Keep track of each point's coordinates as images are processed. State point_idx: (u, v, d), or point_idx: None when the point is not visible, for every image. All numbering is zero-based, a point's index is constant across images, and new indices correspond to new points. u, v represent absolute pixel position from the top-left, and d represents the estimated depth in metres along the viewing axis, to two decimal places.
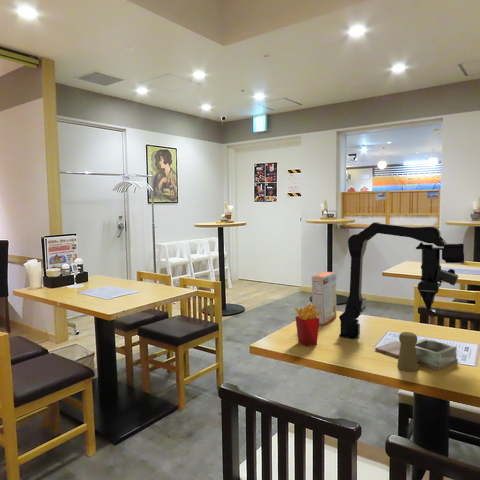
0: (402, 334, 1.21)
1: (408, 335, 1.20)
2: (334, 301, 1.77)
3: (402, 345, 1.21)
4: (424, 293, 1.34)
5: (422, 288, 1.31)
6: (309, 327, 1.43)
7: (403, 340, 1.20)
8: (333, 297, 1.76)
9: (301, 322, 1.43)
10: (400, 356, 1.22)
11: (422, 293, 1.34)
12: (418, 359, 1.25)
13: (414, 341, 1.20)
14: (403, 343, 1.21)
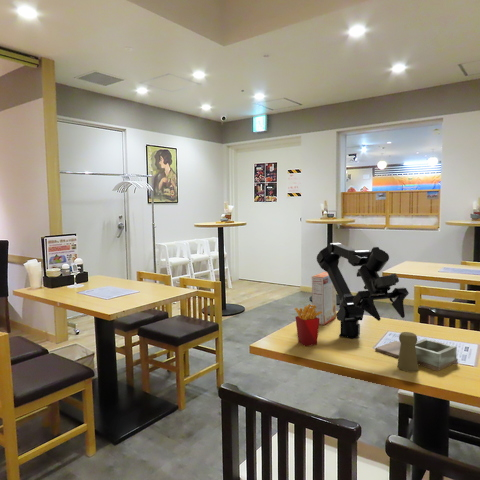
0: (402, 334, 1.21)
1: (408, 335, 1.20)
2: (334, 301, 1.77)
3: (402, 345, 1.21)
4: (366, 307, 1.32)
5: (355, 302, 1.33)
6: (309, 327, 1.43)
7: (403, 340, 1.20)
8: (333, 297, 1.76)
9: (301, 322, 1.43)
10: (400, 356, 1.22)
11: (364, 308, 1.32)
12: (418, 359, 1.25)
13: (414, 341, 1.20)
14: (403, 343, 1.21)
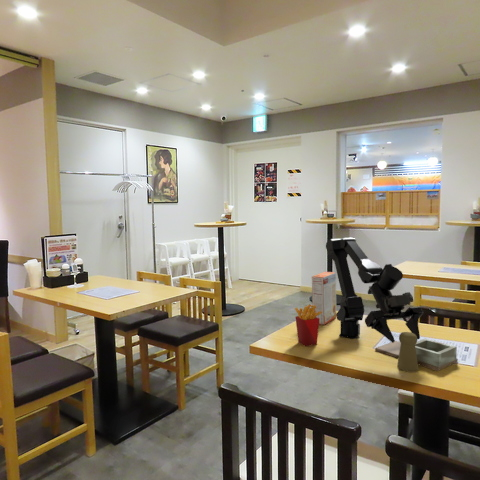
0: (402, 334, 1.21)
1: (408, 335, 1.20)
2: (334, 301, 1.77)
3: (402, 345, 1.21)
4: (379, 328, 1.25)
5: (367, 323, 1.26)
6: (309, 327, 1.43)
7: (403, 340, 1.20)
8: (333, 297, 1.76)
9: (301, 322, 1.43)
10: (400, 356, 1.22)
11: (377, 329, 1.26)
12: (418, 359, 1.25)
13: (414, 341, 1.20)
14: (403, 343, 1.21)
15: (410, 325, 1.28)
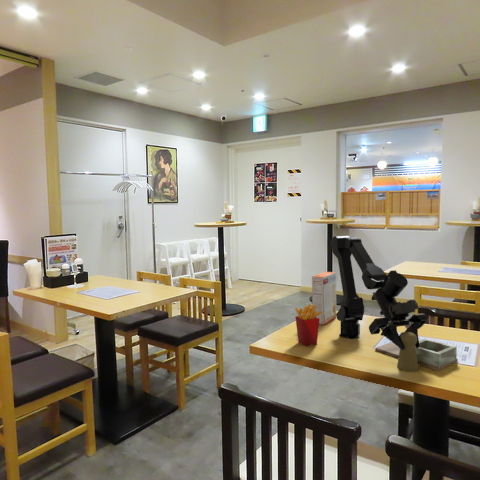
0: (402, 334, 1.21)
1: (408, 335, 1.20)
2: (334, 301, 1.77)
3: None
4: (388, 335, 1.24)
5: (371, 330, 1.24)
6: (309, 327, 1.43)
7: (403, 340, 1.20)
8: (333, 297, 1.76)
9: (301, 322, 1.43)
10: (400, 356, 1.22)
11: (387, 336, 1.24)
12: (418, 359, 1.25)
13: (414, 341, 1.20)
14: (403, 343, 1.21)
15: None
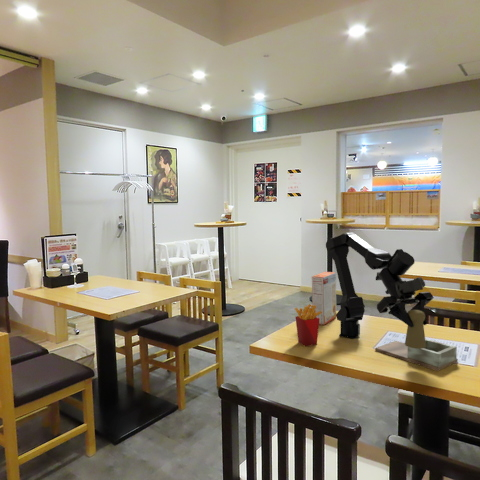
0: (410, 312, 1.22)
1: (417, 312, 1.21)
2: (334, 301, 1.77)
3: None
4: (396, 313, 1.24)
5: (379, 309, 1.24)
6: (309, 327, 1.43)
7: (412, 317, 1.21)
8: (333, 297, 1.76)
9: (301, 322, 1.43)
10: (408, 334, 1.22)
11: (395, 314, 1.24)
12: (418, 359, 1.25)
13: (423, 318, 1.20)
14: (412, 320, 1.21)
15: None
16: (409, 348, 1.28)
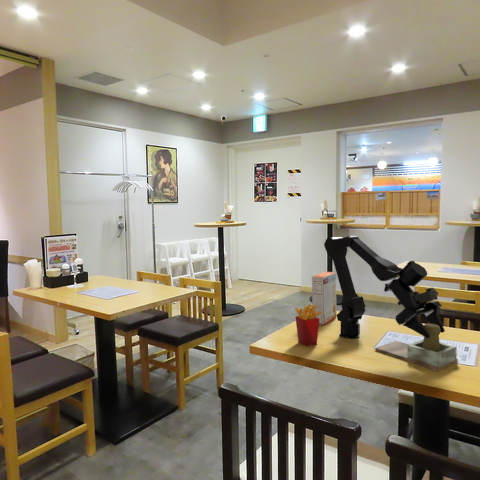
0: (427, 326, 1.26)
1: (434, 326, 1.25)
2: (334, 301, 1.77)
3: None
4: (411, 324, 1.26)
5: (399, 321, 1.25)
6: (309, 327, 1.43)
7: (430, 332, 1.25)
8: (333, 297, 1.76)
9: (301, 322, 1.43)
10: (426, 347, 1.26)
11: (409, 326, 1.26)
12: (418, 359, 1.25)
13: (439, 331, 1.25)
14: (429, 334, 1.25)
15: (431, 319, 1.31)
16: (409, 348, 1.28)
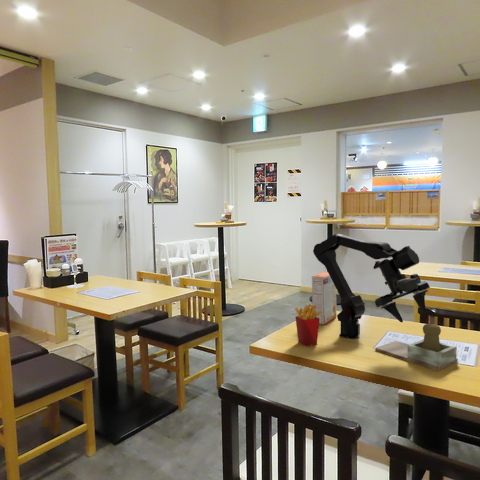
0: (427, 326, 1.26)
1: (434, 326, 1.25)
2: (334, 301, 1.77)
3: (428, 337, 1.26)
4: (388, 308, 1.36)
5: (377, 305, 1.36)
6: (309, 327, 1.43)
7: (430, 332, 1.24)
8: (333, 297, 1.76)
9: (301, 322, 1.43)
10: (426, 347, 1.26)
11: (387, 309, 1.36)
12: (418, 359, 1.25)
13: (439, 332, 1.25)
14: (429, 335, 1.25)
15: (417, 299, 1.38)
16: (409, 348, 1.28)
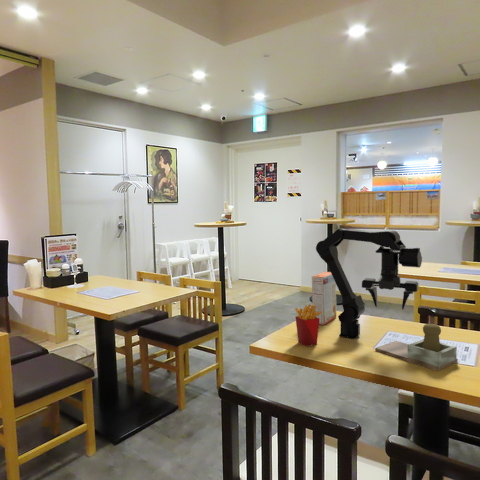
0: (428, 326, 1.26)
1: (434, 326, 1.25)
2: (334, 301, 1.77)
3: (428, 337, 1.26)
4: None
5: None
6: (309, 327, 1.43)
7: (430, 332, 1.25)
8: (333, 297, 1.76)
9: (301, 322, 1.43)
10: (426, 347, 1.26)
11: None
12: (418, 359, 1.25)
13: (440, 332, 1.25)
14: (430, 334, 1.25)
15: None
16: (409, 348, 1.28)
